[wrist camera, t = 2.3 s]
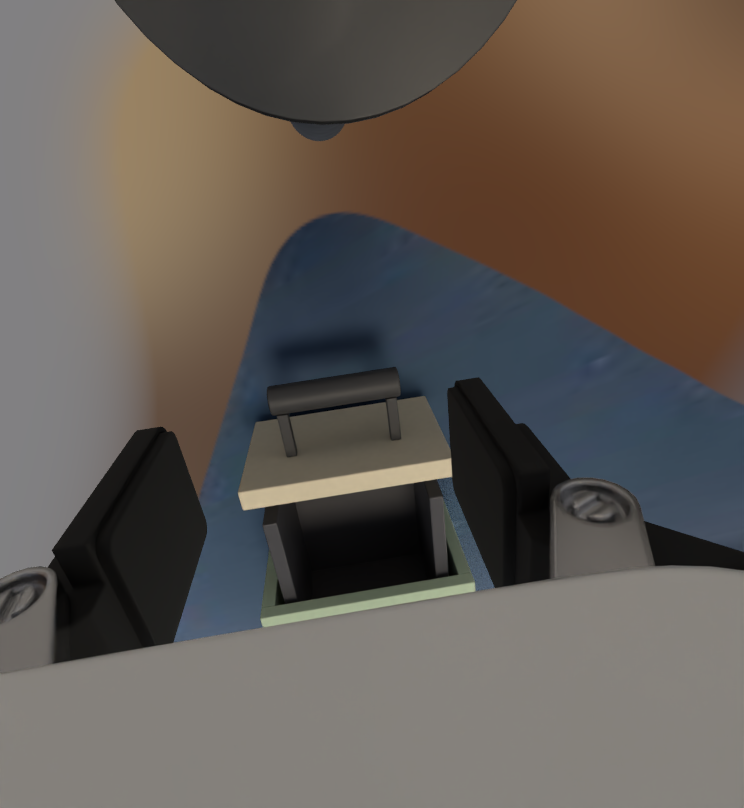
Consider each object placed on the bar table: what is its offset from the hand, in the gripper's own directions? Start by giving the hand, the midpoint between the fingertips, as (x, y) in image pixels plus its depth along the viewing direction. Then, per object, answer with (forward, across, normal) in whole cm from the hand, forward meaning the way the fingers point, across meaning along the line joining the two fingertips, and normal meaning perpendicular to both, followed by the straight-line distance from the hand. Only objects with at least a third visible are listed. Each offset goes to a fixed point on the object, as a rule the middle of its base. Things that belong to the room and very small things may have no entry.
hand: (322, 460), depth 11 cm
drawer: (+19, 0, +13) cm, 23 cm away
